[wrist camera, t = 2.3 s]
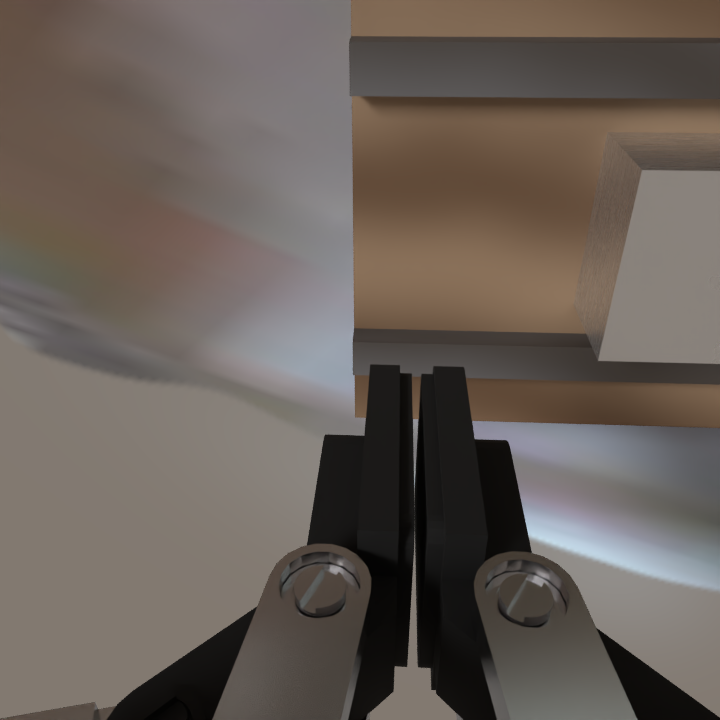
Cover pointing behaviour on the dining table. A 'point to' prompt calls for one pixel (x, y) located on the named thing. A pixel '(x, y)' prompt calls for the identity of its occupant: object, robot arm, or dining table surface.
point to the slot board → (512, 193)
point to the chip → (654, 250)
